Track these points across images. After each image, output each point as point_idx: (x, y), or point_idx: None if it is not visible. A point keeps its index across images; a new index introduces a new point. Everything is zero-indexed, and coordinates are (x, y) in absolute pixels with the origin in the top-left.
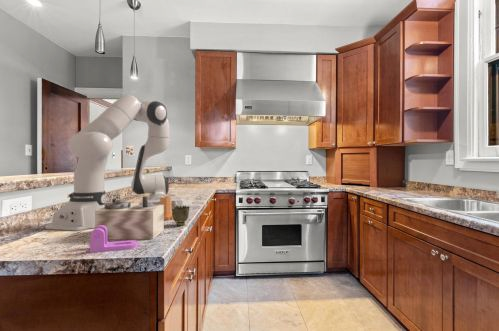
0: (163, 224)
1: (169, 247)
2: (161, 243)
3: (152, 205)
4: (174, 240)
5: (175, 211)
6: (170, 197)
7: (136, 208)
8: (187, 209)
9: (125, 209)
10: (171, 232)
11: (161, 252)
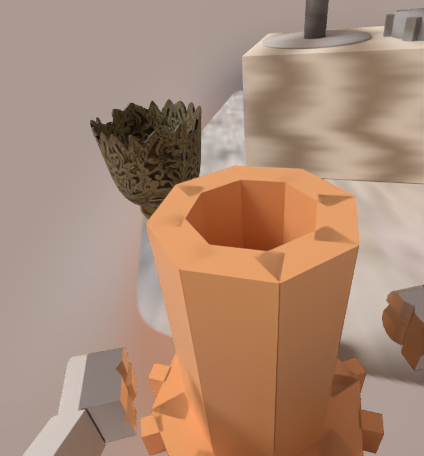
0: (245, 152)
1: (223, 105)
2: (242, 114)
3: (291, 44)
4: (210, 122)
5: (184, 118)
6: (170, 202)
7: (337, 30)
8: (119, 118)
9: (377, 29)
10: (215, 156)
11: (238, 96)
